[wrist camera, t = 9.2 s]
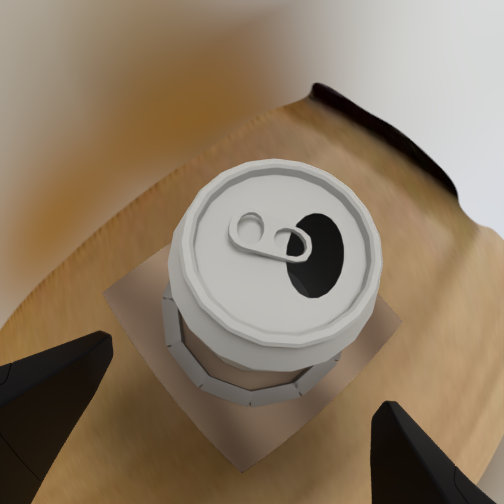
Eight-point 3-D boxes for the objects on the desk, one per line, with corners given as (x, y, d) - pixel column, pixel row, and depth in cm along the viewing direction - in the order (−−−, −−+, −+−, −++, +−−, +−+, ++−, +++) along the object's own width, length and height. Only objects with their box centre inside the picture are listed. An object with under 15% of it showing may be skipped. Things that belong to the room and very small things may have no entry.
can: (297, 382, 17) (391, 389, 6) (186, 355, 18) (117, 326, 7) (318, 278, 20) (399, 174, 10) (217, 253, 21) (205, 124, 10)
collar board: (241, 467, 16) (242, 480, 13) (108, 297, 20) (93, 286, 18) (395, 324, 21) (413, 317, 18) (265, 187, 25) (268, 167, 22)
